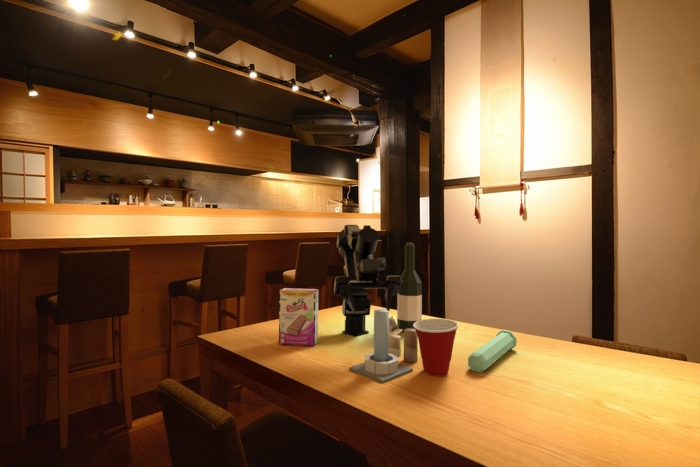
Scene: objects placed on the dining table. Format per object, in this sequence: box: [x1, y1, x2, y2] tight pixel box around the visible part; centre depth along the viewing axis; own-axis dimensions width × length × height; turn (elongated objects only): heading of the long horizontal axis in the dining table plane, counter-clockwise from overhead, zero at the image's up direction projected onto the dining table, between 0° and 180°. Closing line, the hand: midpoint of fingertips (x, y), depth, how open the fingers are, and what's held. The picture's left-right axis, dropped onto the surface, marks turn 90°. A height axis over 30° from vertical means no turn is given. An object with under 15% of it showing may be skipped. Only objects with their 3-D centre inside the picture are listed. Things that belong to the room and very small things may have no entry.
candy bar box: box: [278, 287, 319, 347], centre depth 115 cm, size 11×5×16 cm, turn 84°
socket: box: [348, 352, 414, 384], centre depth 93 cm, size 11×11×3 cm
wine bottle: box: [396, 242, 423, 334], centre depth 131 cm, size 8×8×30 cm
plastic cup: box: [413, 318, 459, 377], centre depth 93 cm, size 11×11×12 cm
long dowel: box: [373, 308, 390, 362], centre depth 93 cm, size 4×4×14 cm
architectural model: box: [389, 316, 402, 336], centre depth 118 cm, size 3×7×7 cm, turn 153°
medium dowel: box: [403, 329, 419, 364], centre depth 101 cm, size 4×4×8 cm
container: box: [467, 329, 517, 373], centre depth 102 cm, size 6×6×25 cm
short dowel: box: [389, 334, 402, 358], centre depth 105 cm, size 4×4×5 cm
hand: (371, 311), depth 102 cm, fingers open, 9 cm apart
